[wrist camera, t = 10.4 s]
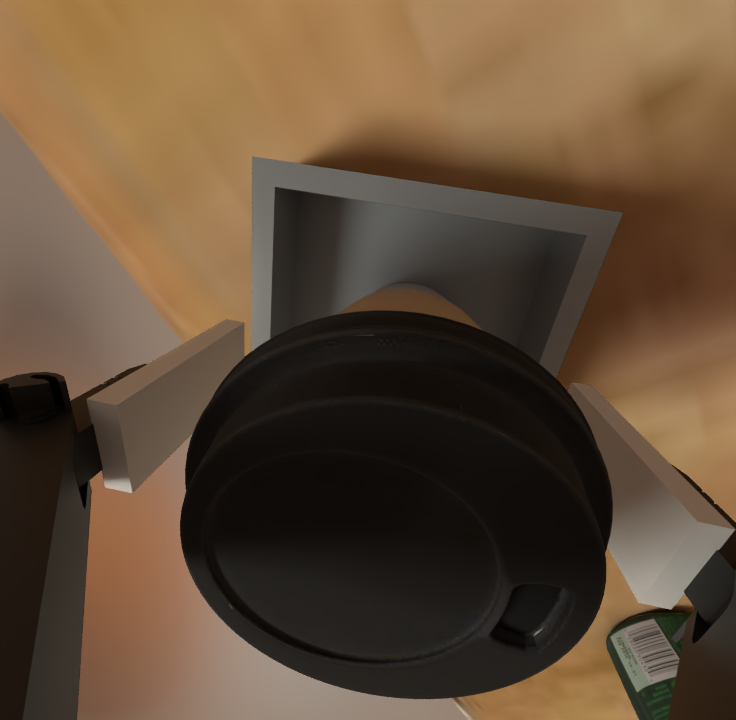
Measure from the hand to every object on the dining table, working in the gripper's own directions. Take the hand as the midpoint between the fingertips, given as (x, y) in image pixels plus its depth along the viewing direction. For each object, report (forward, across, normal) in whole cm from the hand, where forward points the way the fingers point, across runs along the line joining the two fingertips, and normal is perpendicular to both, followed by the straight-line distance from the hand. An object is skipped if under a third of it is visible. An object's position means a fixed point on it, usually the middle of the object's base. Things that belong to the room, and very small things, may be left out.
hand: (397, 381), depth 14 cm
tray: (+8, 0, 0) cm, 8 cm away
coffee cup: (+7, 0, 0) cm, 7 cm away
